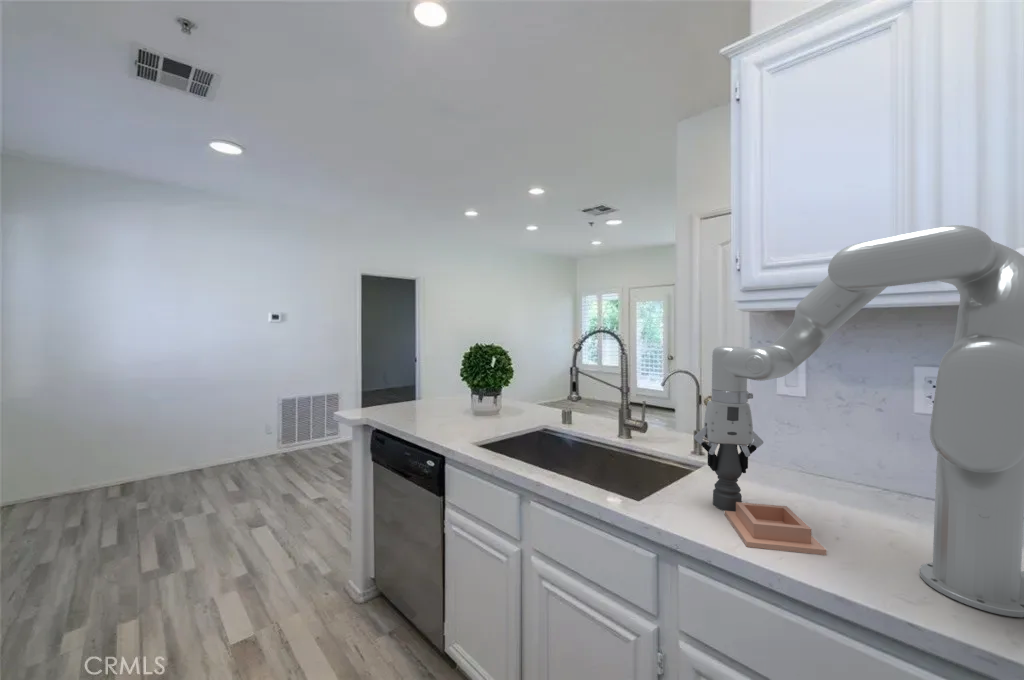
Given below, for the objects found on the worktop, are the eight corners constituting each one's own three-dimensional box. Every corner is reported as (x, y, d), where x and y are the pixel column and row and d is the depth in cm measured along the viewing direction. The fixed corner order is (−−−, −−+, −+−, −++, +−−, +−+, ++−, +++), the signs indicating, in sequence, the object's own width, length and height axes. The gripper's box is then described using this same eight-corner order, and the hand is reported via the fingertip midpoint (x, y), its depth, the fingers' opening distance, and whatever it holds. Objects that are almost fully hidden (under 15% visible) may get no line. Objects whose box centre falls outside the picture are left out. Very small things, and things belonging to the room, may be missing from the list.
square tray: (791, 520, 91) (791, 503, 90) (826, 555, 77) (827, 534, 77) (724, 514, 93) (724, 498, 93) (746, 546, 80) (747, 527, 80)
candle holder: (745, 513, 94) (748, 408, 94) (717, 510, 95) (719, 406, 95) (736, 502, 100) (738, 403, 100) (709, 499, 102) (712, 402, 101)
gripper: (761, 395, 99) (759, 467, 100) (687, 393, 103) (686, 462, 103) (774, 401, 92) (773, 478, 92) (694, 398, 95) (693, 472, 96)
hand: (727, 469), depth 98 cm, fingers closed on candle holder, 5 cm apart
